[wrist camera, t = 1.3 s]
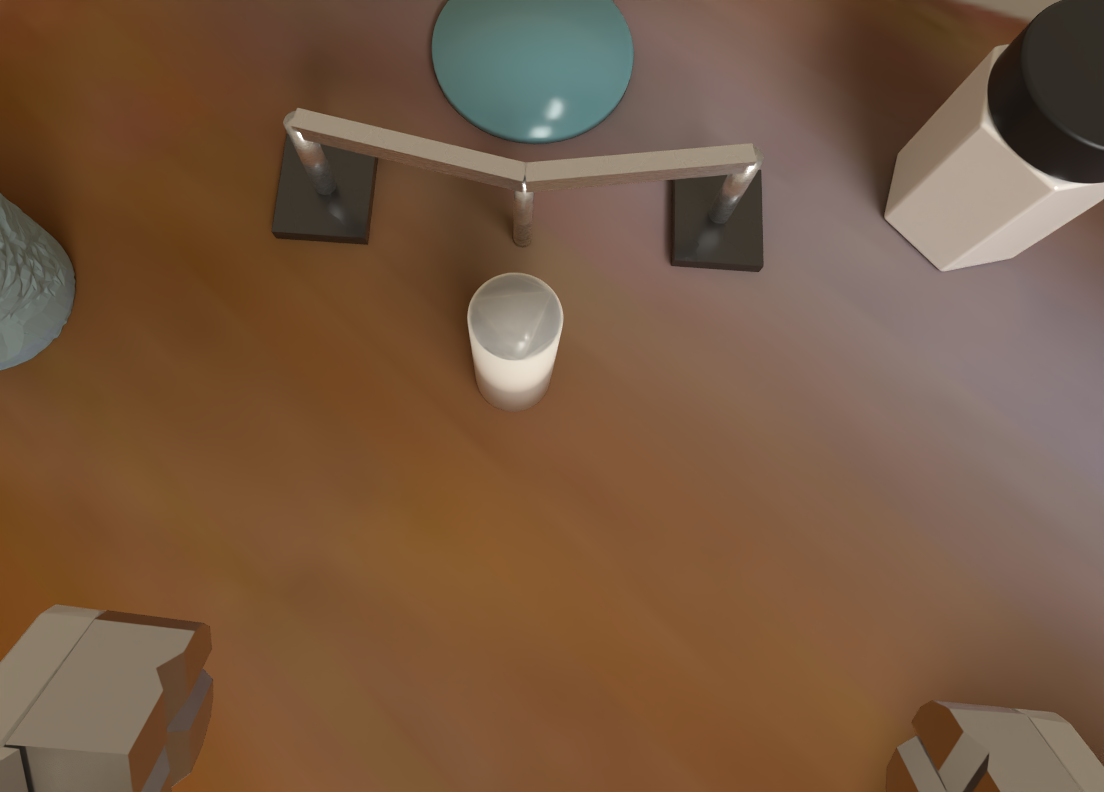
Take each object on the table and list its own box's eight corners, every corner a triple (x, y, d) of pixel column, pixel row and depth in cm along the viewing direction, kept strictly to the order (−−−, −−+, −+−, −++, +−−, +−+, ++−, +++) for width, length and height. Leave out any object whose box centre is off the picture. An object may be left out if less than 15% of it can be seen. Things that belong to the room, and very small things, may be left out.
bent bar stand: (756, 177, 44) (802, 102, 37) (758, 272, 42) (807, 212, 35) (290, 141, 42) (249, 57, 35) (276, 237, 41) (230, 169, 34)
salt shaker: (533, 329, 40) (541, 259, 32) (562, 395, 40) (577, 342, 31) (464, 355, 40) (453, 291, 31) (492, 422, 39) (488, 376, 30)
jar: (1052, 217, 44) (1247, 86, 32) (967, 301, 42) (1140, 196, 31) (939, 116, 45) (1088, -45, 34) (852, 194, 44) (978, 53, 32)
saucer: (584, -50, 47) (585, -58, 46) (664, 106, 44) (666, 100, 44) (404, 4, 45) (402, -3, 44) (476, 170, 43) (475, 164, 42)
